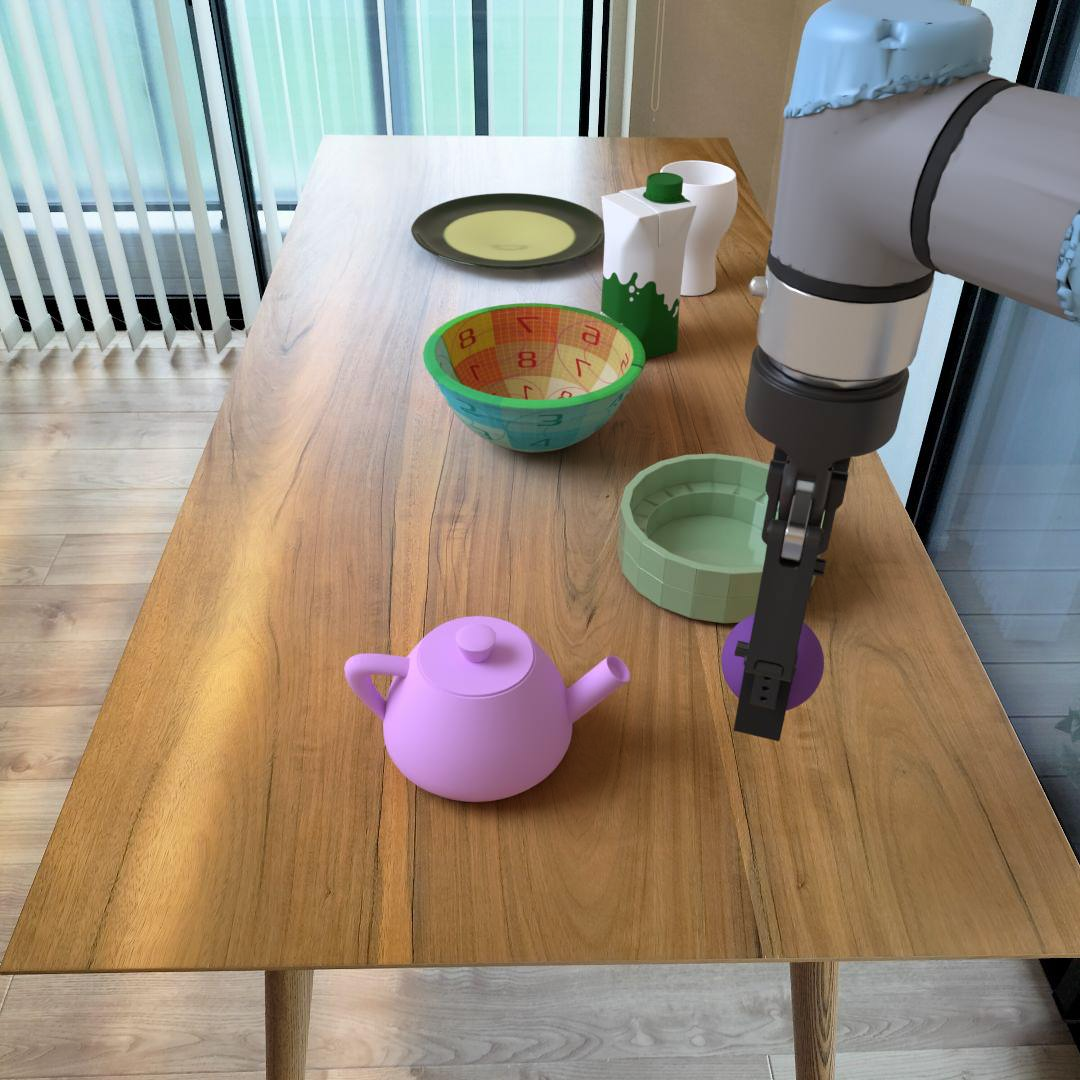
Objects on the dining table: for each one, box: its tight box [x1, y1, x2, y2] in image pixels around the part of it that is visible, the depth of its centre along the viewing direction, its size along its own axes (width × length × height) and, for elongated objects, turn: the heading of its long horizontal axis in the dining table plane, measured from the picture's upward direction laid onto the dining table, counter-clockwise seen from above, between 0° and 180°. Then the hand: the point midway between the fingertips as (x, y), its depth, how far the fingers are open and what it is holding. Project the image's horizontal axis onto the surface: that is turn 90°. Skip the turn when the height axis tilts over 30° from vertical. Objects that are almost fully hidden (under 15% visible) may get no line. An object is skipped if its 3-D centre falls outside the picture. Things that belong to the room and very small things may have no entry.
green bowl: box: [616, 453, 825, 624], centre depth 96 cm, size 18×18×6 cm
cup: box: [659, 160, 739, 297], centre depth 141 cm, size 11×11×15 cm
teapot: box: [343, 615, 631, 803], centre depth 77 cm, size 14×20×11 cm
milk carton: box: [599, 172, 697, 360], centre depth 125 cm, size 9×9×20 cm
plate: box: [410, 192, 605, 271], centre depth 155 cm, size 28×28×2 cm
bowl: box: [422, 302, 646, 454], centre depth 111 cm, size 22×22×10 cm
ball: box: [720, 614, 825, 712], centre depth 64 cm, size 6×6×6 cm
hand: (765, 692), depth 66 cm, fingers closed on ball, 6 cm apart
